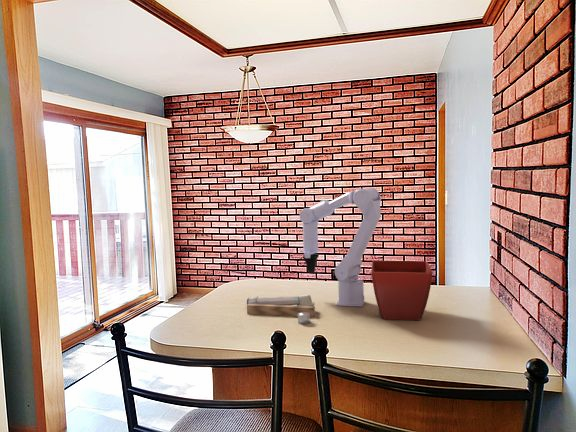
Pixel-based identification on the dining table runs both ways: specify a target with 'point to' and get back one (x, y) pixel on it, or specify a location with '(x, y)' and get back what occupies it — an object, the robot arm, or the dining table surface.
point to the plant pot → (401, 288)
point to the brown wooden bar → (279, 309)
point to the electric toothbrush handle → (283, 300)
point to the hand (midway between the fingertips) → (311, 273)
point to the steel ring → (304, 318)
